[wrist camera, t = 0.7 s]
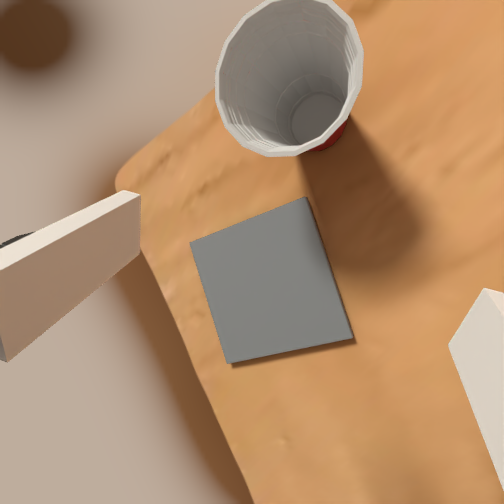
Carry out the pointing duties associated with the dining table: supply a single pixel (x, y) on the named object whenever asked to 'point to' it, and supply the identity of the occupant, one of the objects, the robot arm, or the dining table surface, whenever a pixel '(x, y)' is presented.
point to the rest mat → (271, 284)
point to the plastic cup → (289, 76)
